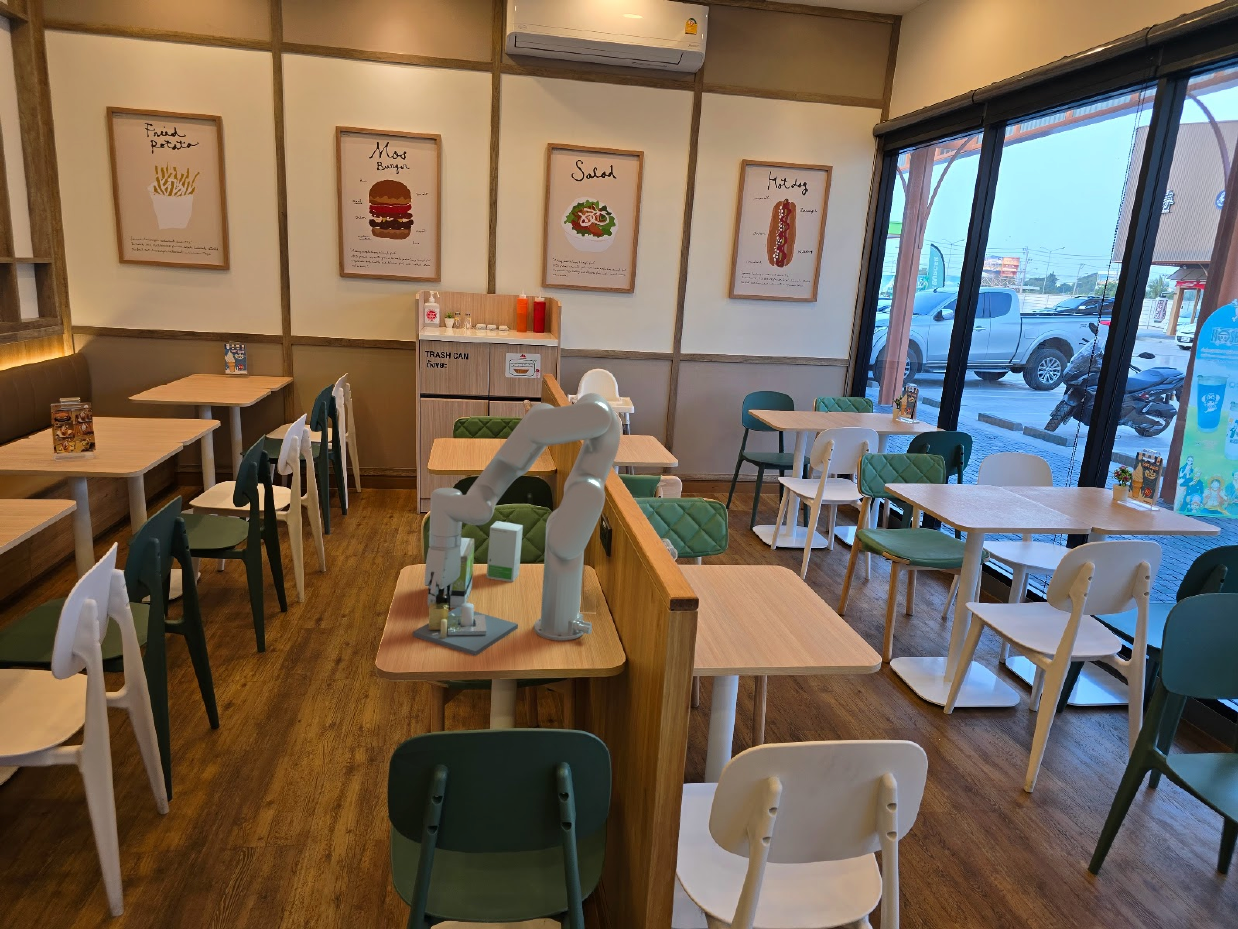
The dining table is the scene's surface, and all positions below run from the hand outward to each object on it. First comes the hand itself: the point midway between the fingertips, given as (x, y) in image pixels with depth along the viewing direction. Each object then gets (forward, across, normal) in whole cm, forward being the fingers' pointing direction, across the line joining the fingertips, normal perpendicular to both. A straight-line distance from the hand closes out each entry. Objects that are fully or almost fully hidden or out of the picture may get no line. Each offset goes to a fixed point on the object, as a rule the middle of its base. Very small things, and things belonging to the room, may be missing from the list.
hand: (442, 610), depth 201 cm
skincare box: (+4, -37, -1) cm, 37 cm away
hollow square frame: (+3, +2, +5) cm, 6 cm away
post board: (+4, +1, +7) cm, 8 cm away
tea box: (+4, -17, -7) cm, 19 cm away
